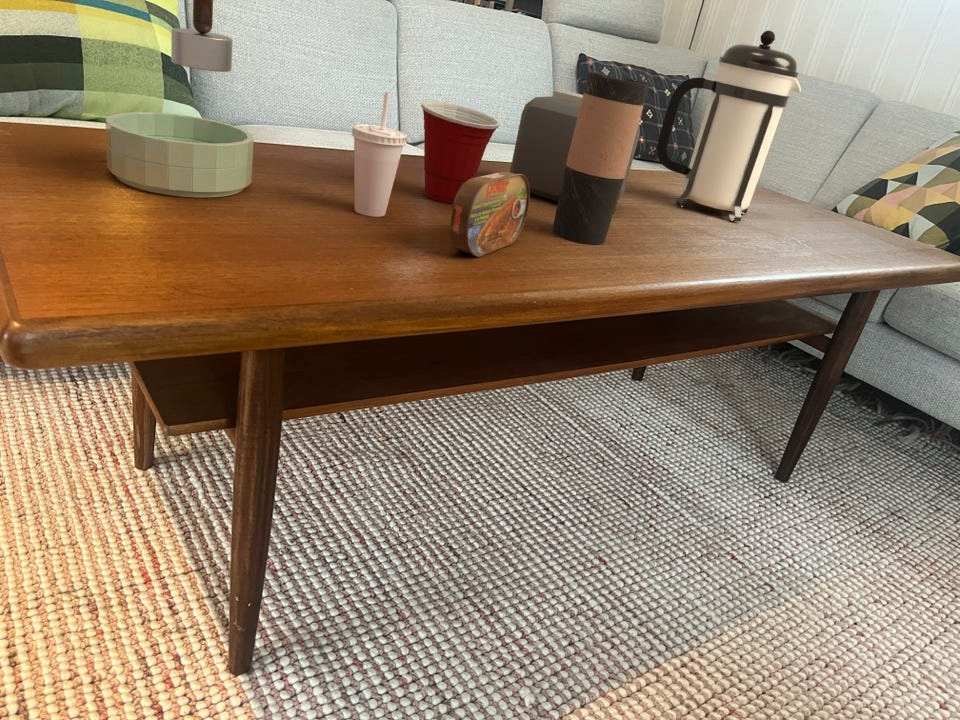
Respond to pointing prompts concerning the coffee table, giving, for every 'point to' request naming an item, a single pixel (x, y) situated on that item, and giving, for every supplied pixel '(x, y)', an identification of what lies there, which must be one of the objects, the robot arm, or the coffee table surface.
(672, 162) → the coffee press
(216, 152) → the bowl
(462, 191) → the tin
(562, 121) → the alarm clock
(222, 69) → the wooden handle stamp
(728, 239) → the coffee table surface
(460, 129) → the plastic cup
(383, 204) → the smoothie
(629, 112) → the travel mug
